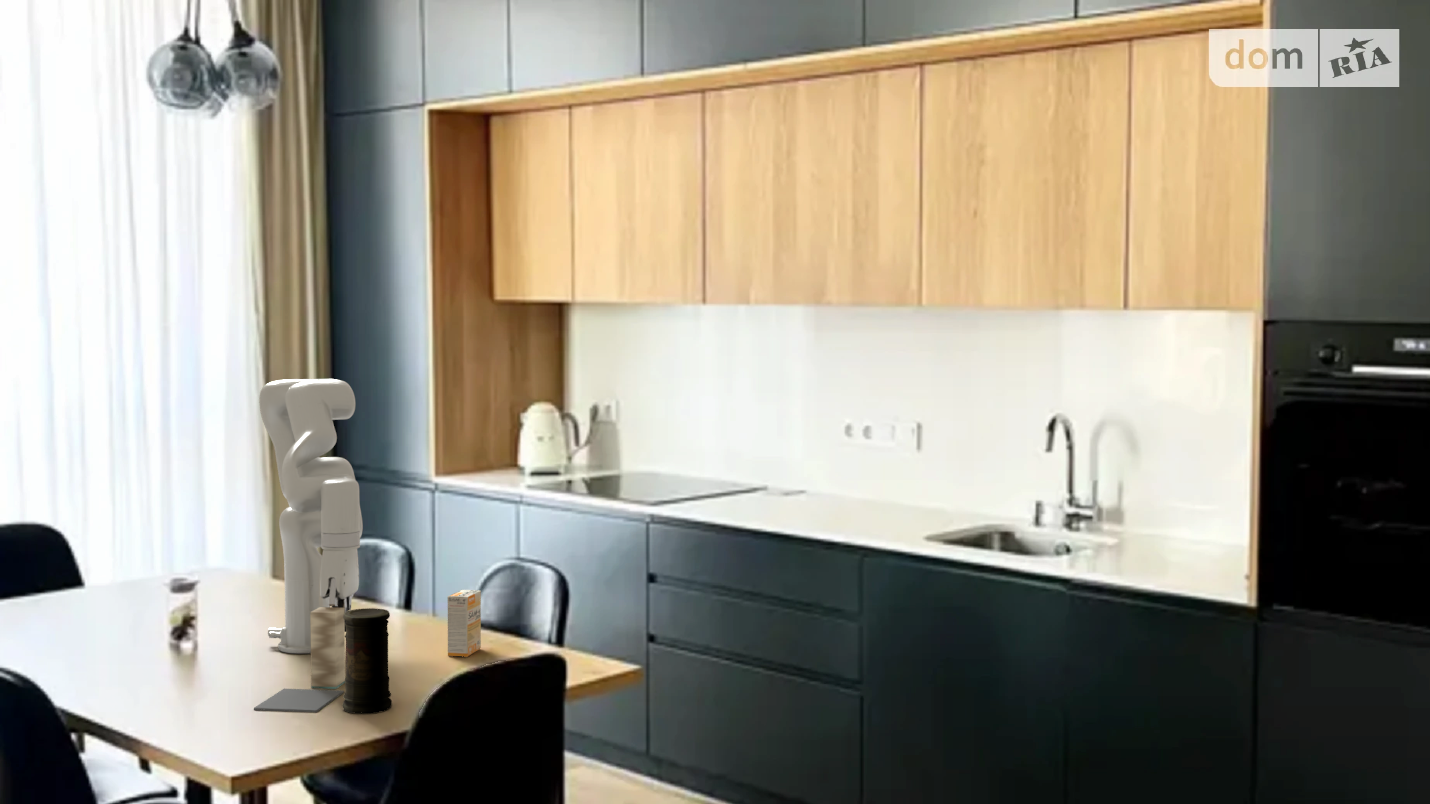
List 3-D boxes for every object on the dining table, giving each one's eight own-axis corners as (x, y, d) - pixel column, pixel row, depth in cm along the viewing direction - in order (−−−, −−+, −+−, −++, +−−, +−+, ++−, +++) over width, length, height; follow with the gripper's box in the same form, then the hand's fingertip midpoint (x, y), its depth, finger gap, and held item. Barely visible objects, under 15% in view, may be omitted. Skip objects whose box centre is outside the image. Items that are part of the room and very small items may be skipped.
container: (346, 701, 279) (345, 607, 278) (394, 701, 280) (393, 607, 279) (338, 715, 270) (337, 617, 269) (388, 714, 271) (387, 616, 270)
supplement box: (468, 657, 314) (467, 596, 314) (447, 656, 315) (446, 595, 315) (482, 649, 322) (481, 589, 322) (461, 647, 323) (460, 588, 323)
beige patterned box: (311, 688, 289) (310, 612, 288) (320, 681, 294) (319, 607, 293) (336, 689, 288) (335, 612, 288) (345, 682, 293) (344, 607, 292)
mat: (253, 710, 273) (253, 707, 273) (284, 690, 287) (283, 688, 287) (316, 712, 272) (316, 710, 272) (343, 692, 286) (343, 690, 286)
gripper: (336, 534, 305) (337, 622, 306) (308, 546, 290) (309, 638, 291) (371, 535, 304) (372, 623, 305) (345, 546, 289) (346, 639, 290)
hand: (341, 630), depth 298 cm, fingers closed
